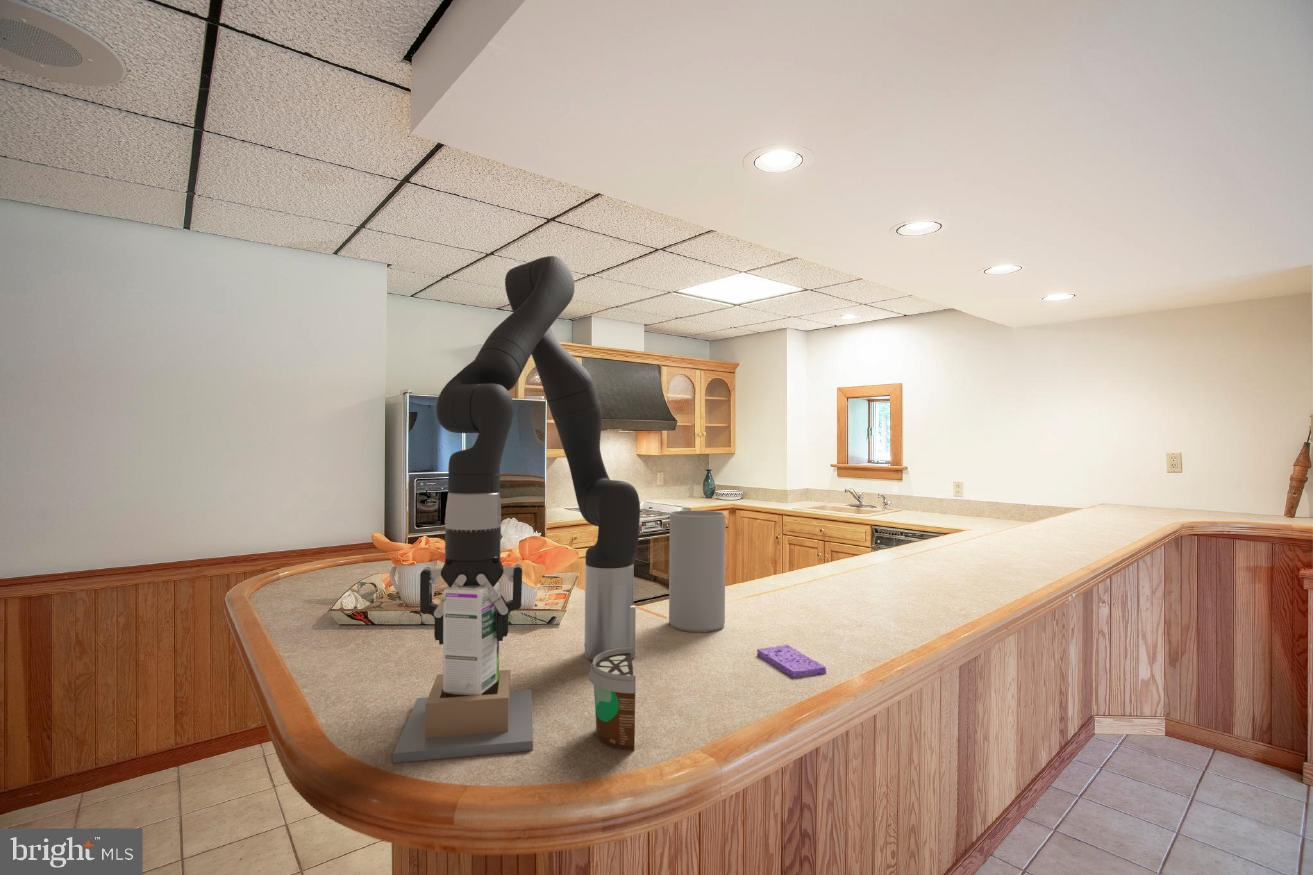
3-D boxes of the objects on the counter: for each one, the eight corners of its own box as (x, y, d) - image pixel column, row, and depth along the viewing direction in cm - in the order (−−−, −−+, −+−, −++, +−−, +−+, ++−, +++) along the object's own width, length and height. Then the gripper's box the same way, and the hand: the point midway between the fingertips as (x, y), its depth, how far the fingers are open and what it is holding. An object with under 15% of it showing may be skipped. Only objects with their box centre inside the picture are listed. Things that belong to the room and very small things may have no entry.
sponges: (787, 653, 118) (787, 644, 118) (827, 676, 106) (827, 665, 106) (756, 657, 116) (756, 648, 116) (793, 681, 104) (793, 670, 104)
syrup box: (480, 697, 82) (482, 589, 82) (440, 693, 83) (442, 586, 83) (499, 681, 87) (501, 580, 88) (462, 677, 88) (464, 578, 89)
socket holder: (531, 697, 95) (532, 660, 95) (532, 750, 78) (533, 705, 78) (417, 705, 91) (417, 668, 92) (392, 763, 75) (393, 716, 75)
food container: (589, 715, 89) (589, 646, 89) (630, 714, 89) (631, 645, 90) (586, 757, 77) (587, 678, 77) (635, 756, 77) (635, 677, 77)
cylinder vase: (665, 617, 141) (666, 510, 141) (718, 616, 142) (719, 510, 143) (672, 634, 128) (674, 516, 129) (730, 632, 130) (731, 516, 130)
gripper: (525, 520, 91) (523, 630, 90) (424, 522, 88) (422, 636, 87) (525, 526, 83) (523, 646, 83) (415, 528, 80) (412, 653, 80)
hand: (471, 641), depth 85 cm, fingers closed on syrup box, 7 cm apart
